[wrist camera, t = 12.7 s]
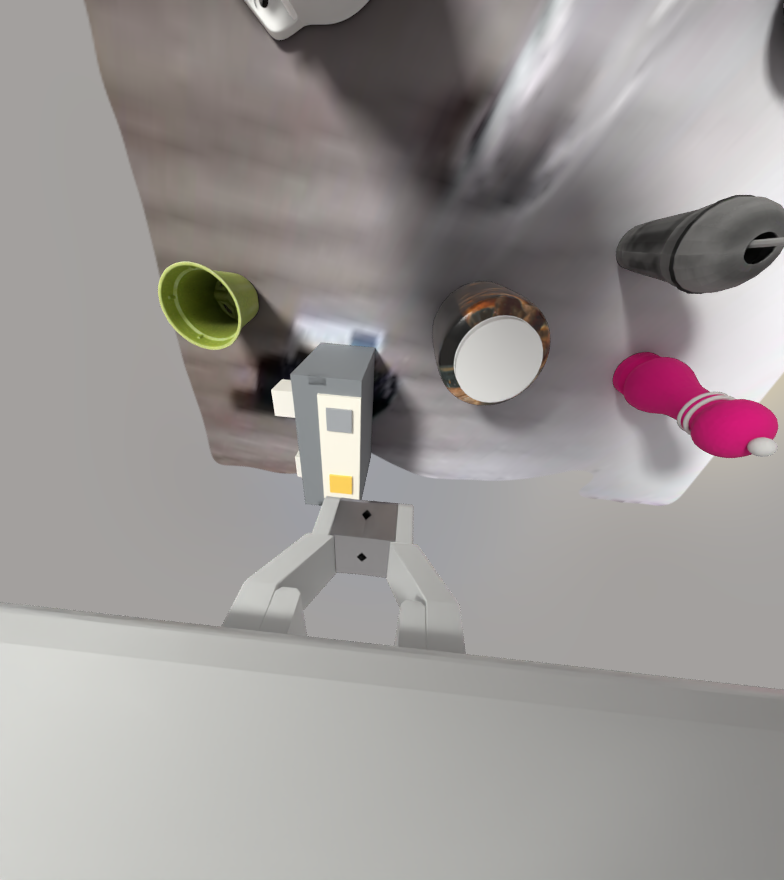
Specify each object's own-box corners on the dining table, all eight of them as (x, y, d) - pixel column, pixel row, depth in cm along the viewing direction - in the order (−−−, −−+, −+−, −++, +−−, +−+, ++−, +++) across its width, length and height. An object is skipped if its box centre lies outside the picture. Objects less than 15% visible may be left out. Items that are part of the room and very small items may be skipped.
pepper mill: (604, 399, 46) (711, 487, 30) (612, 353, 43) (740, 423, 26) (657, 392, 45) (800, 478, 28) (670, 343, 42) (843, 410, 25)
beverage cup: (633, 292, 39) (799, 330, 22) (589, 262, 37) (732, 276, 20) (687, 231, 35) (939, 218, 18) (641, 194, 33) (868, 143, 17)
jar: (429, 287, 40) (434, 307, 27) (521, 274, 38) (573, 289, 26) (434, 373, 46) (440, 421, 33) (514, 365, 45) (552, 412, 32)
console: (327, 453, 56) (303, 507, 44) (321, 342, 45) (287, 376, 33) (370, 457, 55) (358, 513, 44) (375, 347, 45) (360, 383, 33)
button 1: (285, 403, 42) (275, 415, 39) (282, 379, 40) (271, 390, 37) (320, 406, 42) (313, 419, 39) (319, 382, 40) (311, 393, 37)
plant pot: (247, 346, 46) (215, 365, 38) (190, 294, 42) (143, 304, 35) (284, 301, 42) (256, 313, 35) (225, 241, 39) (181, 239, 31)
